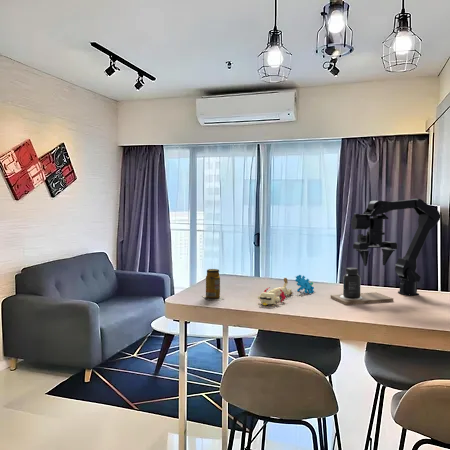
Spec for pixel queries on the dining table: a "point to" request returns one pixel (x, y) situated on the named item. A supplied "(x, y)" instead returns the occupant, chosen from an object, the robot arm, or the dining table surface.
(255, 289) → the dining table surface
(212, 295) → the condiment
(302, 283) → the blue lumpy piece
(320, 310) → the dining table surface
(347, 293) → the supplement bottle
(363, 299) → the walnut board
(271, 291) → the cat figure
